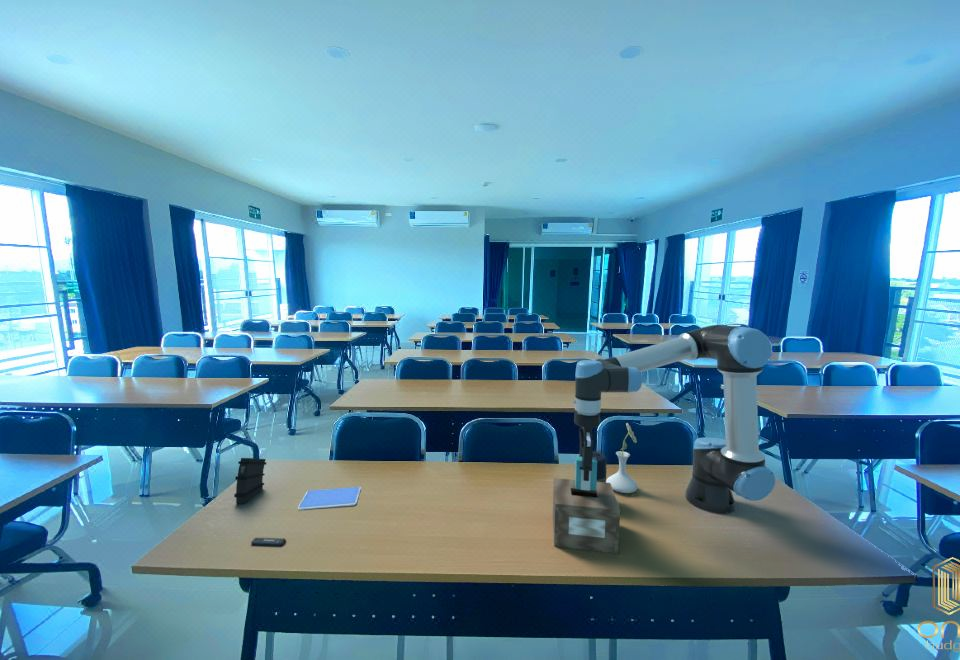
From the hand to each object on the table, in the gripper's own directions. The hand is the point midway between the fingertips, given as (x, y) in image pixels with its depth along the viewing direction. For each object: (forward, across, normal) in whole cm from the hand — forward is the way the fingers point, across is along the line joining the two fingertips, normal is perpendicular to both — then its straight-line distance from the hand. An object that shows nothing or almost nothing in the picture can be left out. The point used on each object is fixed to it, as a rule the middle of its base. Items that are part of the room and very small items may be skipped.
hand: (584, 486), depth 115 cm
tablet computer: (+16, -4, -87) cm, 89 cm away
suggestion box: (+15, 0, 0) cm, 15 cm away
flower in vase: (+15, -32, +18) cm, 40 cm away
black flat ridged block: (+15, -1, -117) cm, 118 cm away
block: (0, 0, 0) cm, 0 cm away
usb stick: (+16, +22, -92) cm, 95 cm away
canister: (+15, -20, +5) cm, 26 cm away
